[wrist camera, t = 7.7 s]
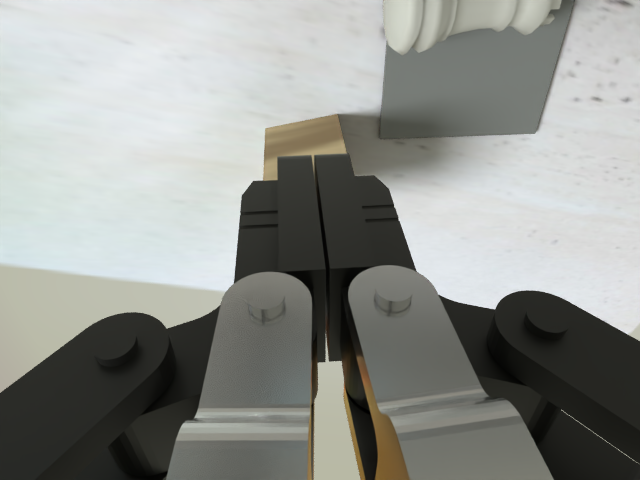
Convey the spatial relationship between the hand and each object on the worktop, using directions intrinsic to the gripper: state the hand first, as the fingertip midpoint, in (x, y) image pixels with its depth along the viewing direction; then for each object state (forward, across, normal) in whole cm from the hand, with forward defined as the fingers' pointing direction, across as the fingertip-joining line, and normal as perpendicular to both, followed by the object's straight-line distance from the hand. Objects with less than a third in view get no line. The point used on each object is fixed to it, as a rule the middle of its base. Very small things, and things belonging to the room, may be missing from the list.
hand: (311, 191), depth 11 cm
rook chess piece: (+16, -5, 0) cm, 17 cm away
